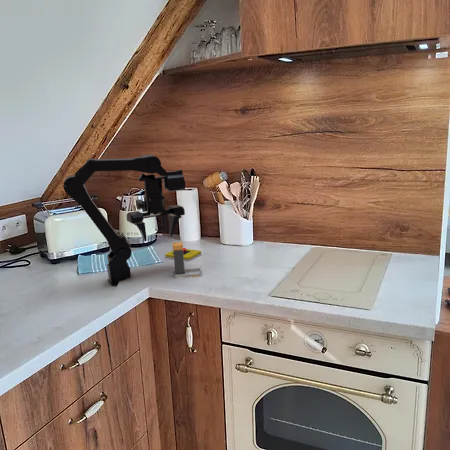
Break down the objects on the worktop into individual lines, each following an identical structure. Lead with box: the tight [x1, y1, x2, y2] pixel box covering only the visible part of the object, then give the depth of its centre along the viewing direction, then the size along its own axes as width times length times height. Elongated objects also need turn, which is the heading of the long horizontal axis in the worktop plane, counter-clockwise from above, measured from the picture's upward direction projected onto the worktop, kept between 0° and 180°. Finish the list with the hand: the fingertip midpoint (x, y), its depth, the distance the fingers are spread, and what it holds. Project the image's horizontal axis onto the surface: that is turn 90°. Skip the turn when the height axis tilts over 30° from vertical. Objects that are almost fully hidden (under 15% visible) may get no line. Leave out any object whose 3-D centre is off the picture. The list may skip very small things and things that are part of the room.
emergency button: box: [164, 247, 203, 262], centre depth 175 cm, size 9×4×15 cm
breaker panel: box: [172, 265, 203, 279], centre depth 156 cm, size 10×7×3 cm, turn 94°
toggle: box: [172, 241, 186, 276], centre depth 154 cm, size 3×4×11 cm
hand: (158, 238), depth 157 cm, fingers open, 9 cm apart
